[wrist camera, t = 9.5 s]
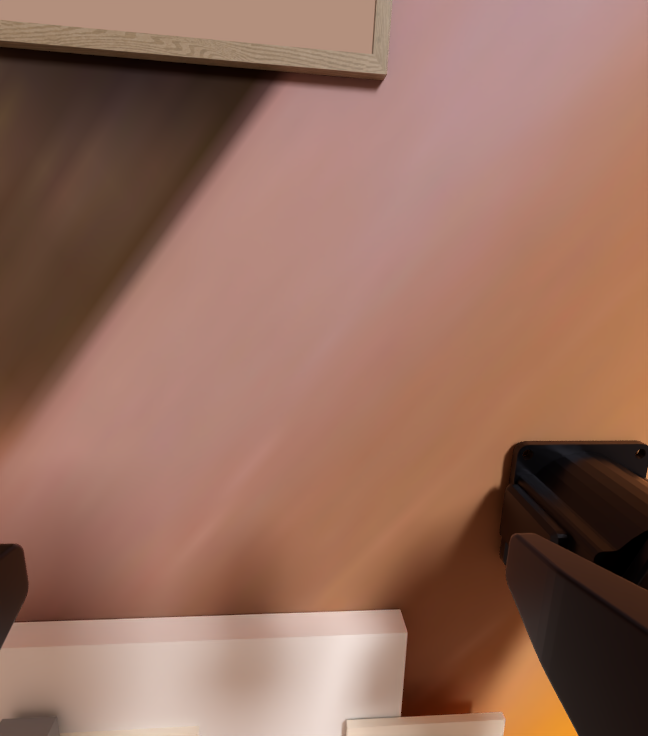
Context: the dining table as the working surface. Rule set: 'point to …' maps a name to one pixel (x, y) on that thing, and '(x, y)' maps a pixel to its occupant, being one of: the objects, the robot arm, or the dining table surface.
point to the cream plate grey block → (430, 725)
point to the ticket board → (203, 675)
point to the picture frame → (211, 32)
